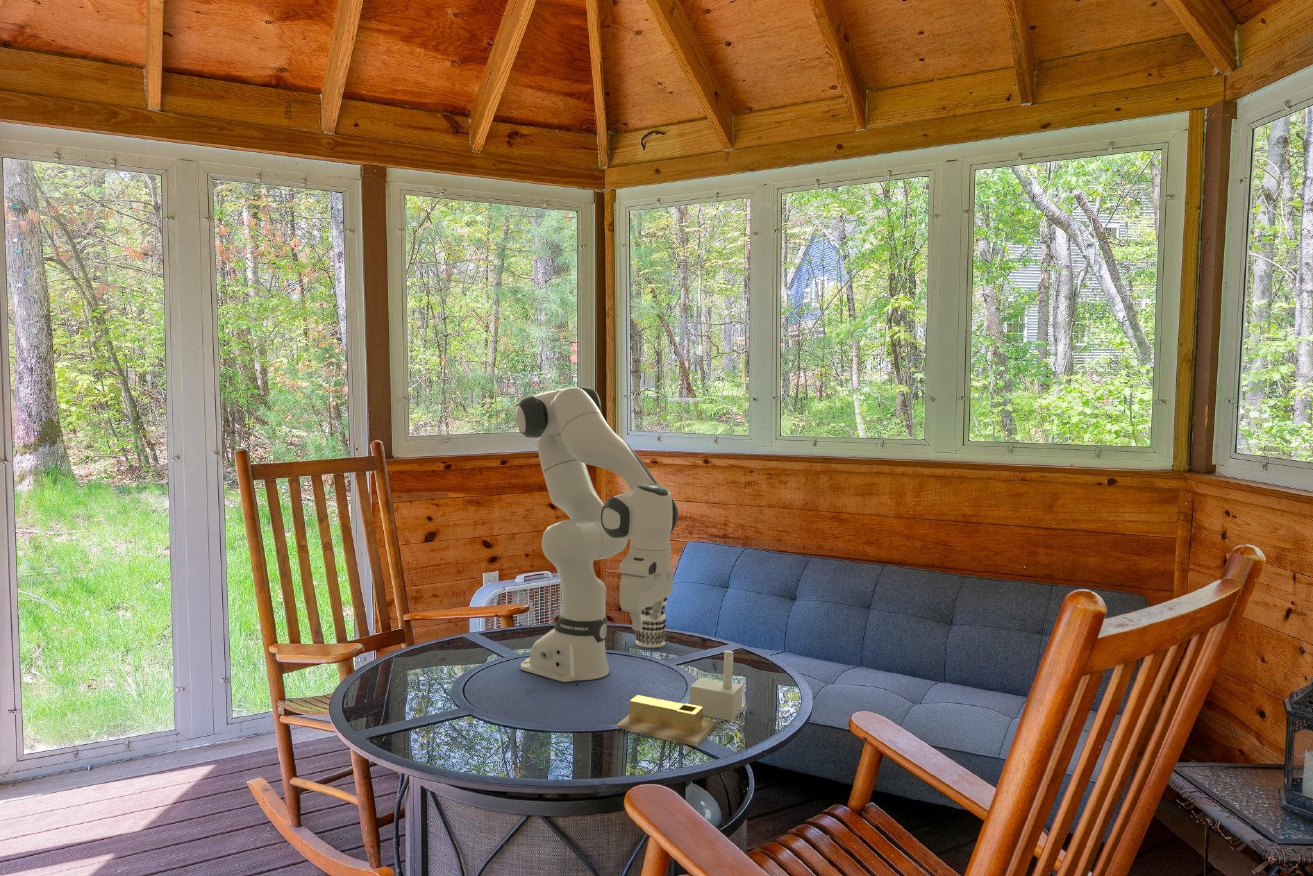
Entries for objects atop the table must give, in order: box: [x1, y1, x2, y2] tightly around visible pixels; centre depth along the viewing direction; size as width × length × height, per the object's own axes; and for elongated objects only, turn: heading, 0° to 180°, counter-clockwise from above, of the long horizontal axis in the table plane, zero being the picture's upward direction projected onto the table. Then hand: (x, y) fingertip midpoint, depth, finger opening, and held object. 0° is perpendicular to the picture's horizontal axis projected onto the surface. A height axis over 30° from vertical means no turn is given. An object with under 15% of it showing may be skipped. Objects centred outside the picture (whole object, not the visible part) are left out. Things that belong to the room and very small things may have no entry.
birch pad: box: [615, 714, 717, 747], centre depth 180 cm, size 18×12×1 cm, turn 67°
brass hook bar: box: [628, 694, 704, 734], centre depth 180 cm, size 15×5×4 cm, turn 67°
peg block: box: [688, 650, 744, 722], centre depth 190 cm, size 10×7×14 cm
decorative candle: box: [635, 597, 668, 648], centre depth 241 cm, size 9×9×25 cm
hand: (646, 624), depth 182 cm, fingers open, 8 cm apart
